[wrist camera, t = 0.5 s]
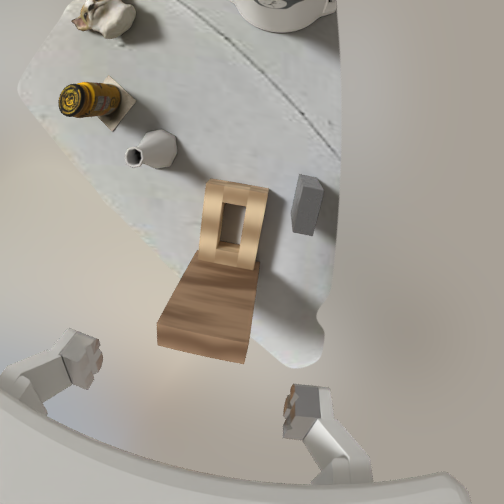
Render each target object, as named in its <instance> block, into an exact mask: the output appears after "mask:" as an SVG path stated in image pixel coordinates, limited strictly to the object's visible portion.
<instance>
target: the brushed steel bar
mask: <svg viewBox="0 0 504 504" xmlns="http://www.w3.org/2000/svg"><path fill="white" fill-rule="evenodd" d="M323 194H324V189H323V188H322V186H321V184H320V183H319V181H318V179H317V178H316V177H311V176H306V175H302V174H299V177H298V182H297V187H296V191H295V196H294V200H293V205H292V209H291V220H292V230H293V232H294V233H300V234H305V235H310V236H313V233H314V229H315V225H316V221H317V218H318V214H319V210H320V206H321V202H322V198H323Z"/></svg>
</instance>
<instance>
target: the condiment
mask: <svg viewBox="0 0 504 504" xmlns="http://www.w3.org/2000/svg"><path fill="white" fill-rule="evenodd" d="M135 102H136V100H135V99H133V98H132V97H131V96H130V95H129V94H128V93H127V92H126V91H125V90H124V89H123V88H122V87H121V86H120V85H119V84H118V83H117V82H116V81H115V80H113V79H112V78H111V77H110V76H109V75H108V76H107V78H106V79H105V80H104V82H103V83H91V82H82V83H78V84H70V85H68V86H67V87H65V88H64V89H63V91H62V92H61V94H60V97H59V109H60V111H61V113H62V114H63V115H65V116H69V117H72V116H73V117H76V118H83V117H93V116H98V118H99V119H100V120H101V121H102V122H103V123H104V124H105V125H106V126H107V127H108V128H109V129H110V130H111V131H113V130H114V129H115V127H116V126H117V125H118V124H119V122H120V121H121V120H122V119H123V117H124V116H125V115H126V114H127V112H128V111H129V110H130V108H131V107H132V106H133V105H134V103H135Z"/></svg>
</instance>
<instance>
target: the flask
mask: <svg viewBox="0 0 504 504" xmlns="http://www.w3.org/2000/svg"><path fill="white" fill-rule="evenodd" d="M176 154H177V145H176V138H175V136H174V135H172V134H170V133H168V132H166V131H165V130H163V129H159V130H154V131H149V132H147V133H146V134H145V136H144V138H143V139H142V141H141V142H140V144H139V145H138V146H137V147H131V148H128V149H127V151H126V154H125V161H126V164H127V165H129V166H130V167H132V168H135V167H140V166H141V165H142V164H146V165H148V166H151V167H153V168H155V169H157V168H163V167H170V166H171V164H172V162H173V160H174V158H175V156H176Z"/></svg>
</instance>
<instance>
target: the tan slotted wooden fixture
mask: <svg viewBox="0 0 504 504" xmlns="http://www.w3.org/2000/svg"><path fill="white" fill-rule="evenodd" d="M268 191H269V188H263V187H258V186H252V185H247V184H241V183H235V182H229V181H223V180H217V179H210V180H209V181H208V182H207V183H206V188H205V197H204V205H203V214H202V223H201V233H200V242H199V250H197V252H196V253H195V255H194V257H193V258H192V260H191V262H190V264H189V266H188V267H187V269H186V271H185V273H184V274H183V276H182V278H181V280H180V282H179V284H178V285H177V287H176V289H175V291H174V292H173V294H172V296H171V298H170V300H169V302H168V303H167V305H166V307H165V309H164V311H163V313H162V315H161V316H160V318H159V320H158V322H157V342H158V345H159V346H163V347H167V348H171V349H175V350H180V351H183V352H187V353H192V354H197V355H201V356H206V357H210V358H215V359H220V360H225V361H230V362H236V363H240V364H244V362H245V358H246V353H247V349H248V344H249V338H250V331H251V324H252V317H253V310H254V303H255V296H256V288H257V281H258V274H259V267H260V262H257V261H255V259H256V254H257V248H258V243H259V238H260V233H261V228H262V223H263V217H264V212H265V207H266V202H267V197H268ZM225 203H230V204H235V205H241V206H246V213H245V218H244V224H243V230H242V236H241V242H240V245H239V244H234V243H228V242H223V241H220V234H221V227H222V220H223V213H224V205H225Z"/></svg>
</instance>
